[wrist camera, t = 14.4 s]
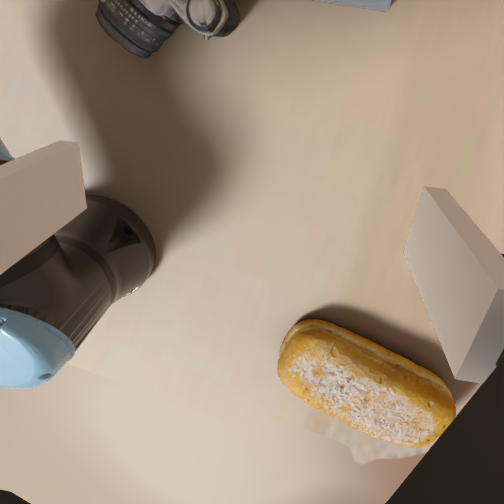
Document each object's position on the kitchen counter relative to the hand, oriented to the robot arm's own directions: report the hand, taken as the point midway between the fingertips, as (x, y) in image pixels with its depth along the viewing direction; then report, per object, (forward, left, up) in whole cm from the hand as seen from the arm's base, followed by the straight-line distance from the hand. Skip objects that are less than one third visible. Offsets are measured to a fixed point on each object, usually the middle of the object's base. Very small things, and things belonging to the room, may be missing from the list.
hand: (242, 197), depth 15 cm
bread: (+18, -37, -33) cm, 53 cm away
